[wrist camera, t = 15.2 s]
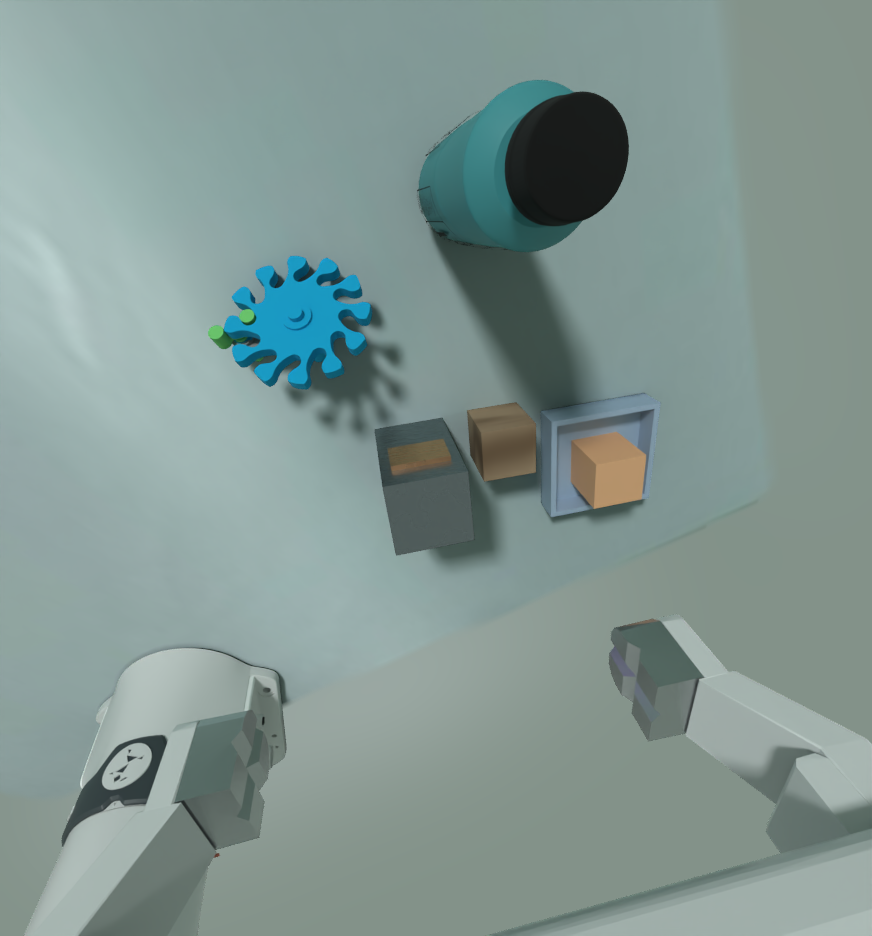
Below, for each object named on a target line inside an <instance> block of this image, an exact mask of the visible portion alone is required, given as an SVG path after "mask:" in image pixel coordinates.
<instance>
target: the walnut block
mask: <svg viewBox="0 0 872 936" xmlns="http://www.w3.org/2000/svg"><path fill="white" fill-rule="evenodd" d="M467 415H468V428H469V441H470V455H471V457H472V459H473V461H474V463H475V465H476V467H477V469H478V471H479V473H480V475H481V476H482V478H483V480H484V482H485V481H490V480H496V479H502V478H507V477H513V476H518V475H524V474H530V473H535V472H536V423H535V422H534V421H533V420H532V419H531V418H530V417H529V416H528V414H527V413H526V412H525V411H524V410H523V409H522V408H521V407H520V406H519V405H518V404H517V402H516V403H509V404H503V405H497V406H491V407H485V408H478V409H472V410H467Z"/></svg>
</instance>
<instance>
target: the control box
mask: <svg viewBox="0 0 872 936" xmlns="http://www.w3.org/2000/svg"><path fill="white" fill-rule="evenodd" d="M375 436H376V444H377V451H378V458H379V465H380V473H381V480H382V487H383V492H384V497H385V502H386V507H387V512H388V517H389V522H390V528H391V533H392V538H393V543H394V548H395V553H396V555H401V554H406V553H412V552H417V551H422V550H427V549H432V548H437V547H442V546H447V545H452V544H457V543H462V542H467V541H472V540H474V530H473V519H472V508H471V497H470V486H469V475H468V470H467V468H466V466H465V464H464V462H463V460H462V458H461V455H460V453H459V451H458V449H457V447H456V445H455V443H454V441H453V439H452V437H451V435H450V433H449V431H448V429H447V426H446V424H445V422H444V420H443V418H438V419H432V420H427V421H421V422H415V423H409V424H403V425H398V426H392V427H386V428H380V429H375Z"/></svg>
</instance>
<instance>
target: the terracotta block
mask: <svg viewBox="0 0 872 936" xmlns="http://www.w3.org/2000/svg"><path fill="white" fill-rule="evenodd" d="M645 464H646V454H644V453H643V452H642V451H641V450H639V449H638V448H637V447H636V446H634V445H633V444H632V443H631V442H629V441H628V440H627V439H626V438H624V437H623V436H622V435H621V434H619V433H618V432H613V433H607V434H602V435H597V436H591V437H586V438H581V439H576V440H571V483H572V484H573V485H574V486H575V487H576V488H577V490H578V491H579V492H580V493H581V494H582V495H583V497H584V498H585V499H586V500H587V501H588V503H589V504H590V505H591V506H592V507H593V508H594V509H596V508H601V507H606V506H611V505H616V504H621V503H626V502H631V501H635V500H640V499H642V491H643V482H644V473H645Z"/></svg>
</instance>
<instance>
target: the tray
mask: <svg viewBox="0 0 872 936" xmlns="http://www.w3.org/2000/svg"><path fill="white" fill-rule="evenodd" d="M660 404H661V403H660V402H659V401H657V400H655V399H654V398H652V397H650V396H649V395H647V394H645V393H641V394H636V395H630V396H624V397H618V398H613V399H607V400H601V401H596V402H590V403H584V404H578V405H573V406H567V407H561V408H556V409H550V410H544V411H541V503H542V505H543V506H544V508H545V509H546V511H547V512H548V514H549V515H550V517H555V516H560V515H565V514H570V513H575V512H580V511H585V510H590V509H594V508H593V507H592V506H591V505H590V504H589V503H588V501H587V500H586V499H585V498H584V497H583V495H582V494H581V493H580V492H579V491H578V490H577V488H576V487H575V486H574V485H573V484H572V483H571V440H576V439H581V438H586V437H591V436H597V435H602V434H607V433H613V432H618V433H619V434H621V435H622V436H623V437H624V438H626V439H627V440H628V441H629V442H631V443H632V444H633V445H634V446H636V447H637V448H638V449H639V450H641V451H642V452H643V453H644V454H646V464H645V473H644V482H643V491H642V499H646V498H649V491H650V483H651V475H652V467H653V459H654V451H655V443H656V435H657V427H658V419H659V412H660ZM640 500H641V499H640ZM635 501H636V500H635Z"/></svg>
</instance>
